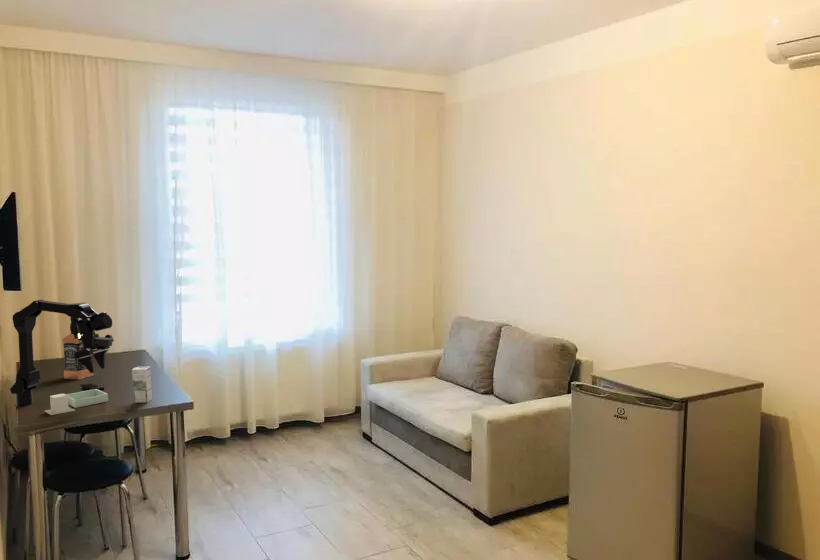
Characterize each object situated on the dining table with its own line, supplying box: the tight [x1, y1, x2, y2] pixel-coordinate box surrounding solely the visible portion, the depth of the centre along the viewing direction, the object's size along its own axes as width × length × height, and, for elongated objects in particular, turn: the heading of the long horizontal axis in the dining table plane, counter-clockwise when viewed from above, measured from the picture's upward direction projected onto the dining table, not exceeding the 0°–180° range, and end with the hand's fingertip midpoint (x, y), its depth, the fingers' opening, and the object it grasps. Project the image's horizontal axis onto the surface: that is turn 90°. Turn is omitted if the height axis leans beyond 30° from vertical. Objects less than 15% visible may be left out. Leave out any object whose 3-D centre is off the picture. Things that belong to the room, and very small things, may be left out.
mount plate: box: [44, 406, 76, 416], centre depth 264 cm, size 9×9×6 cm
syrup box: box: [131, 365, 153, 404], centre depth 278 cm, size 6×6×14 cm
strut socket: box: [49, 393, 70, 413], centre depth 264 cm, size 5×5×6 cm
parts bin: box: [66, 388, 109, 409], centre depth 277 cm, size 13×13×4 cm
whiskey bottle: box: [61, 317, 95, 380], centre depth 326 cm, size 10×10×32 cm
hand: (97, 370), depth 270 cm, fingers open, 9 cm apart
